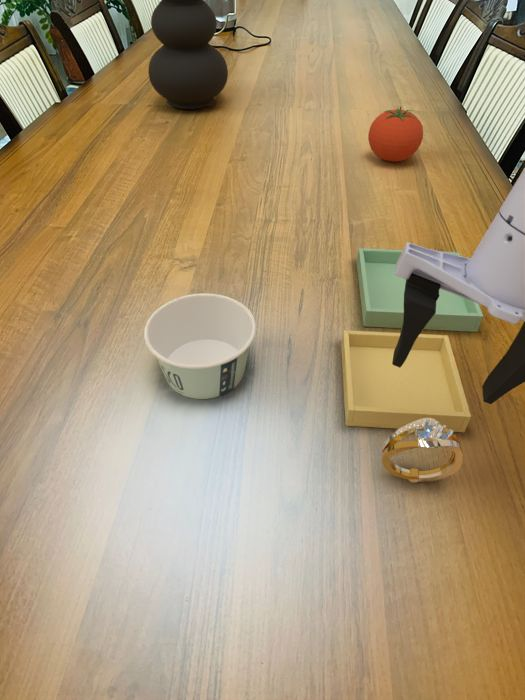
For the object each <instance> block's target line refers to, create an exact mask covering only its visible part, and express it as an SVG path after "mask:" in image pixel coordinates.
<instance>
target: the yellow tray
mask: <svg viewBox="0 0 525 700" xmlns="http://www.w3.org/2000/svg"><path fill="white" fill-rule="evenodd" d="M400 334H401V332H388V331H368V330H367V331H366V330H347V329H346V330H345V329H344V330H343V331H342V338H341V343H340V351H341V369H342V387H343V402H344V418H345V419H344V420H345V421H344V422H345V426H346V427H349V426H350V427H364V428H380V429H397V430H398V429H399V428H401V427H403V426H405V425H407V424H409V423H411V422H413V421H416V420H418V419H422V418H433V419H435V420H437V421H439V424H440V425H441V426H443V425H446V428H447V429H449V430H450V429H451V430H453V433H465V432H466V429H467V427H468V426H469V423H470V420H471V418H472V414H471V411H470V408H469V403H468V399H467V397H466V394H465V391H464V387H463V384H462V380H461V376H460V372H459V369H458V366H457V365H458V364H457V362H456V358H455V355H454V352H453V348H452V344H451V341H450V337H449V335H448V334H428V333H420V334H419V336H418V337H417V339H416V341H415V342H414V344H413V346H412V348H411V350H410V352H409V354H408V356H407V358H406V360H405V362H404V363H403V365H402V366H401V367H400V368H399V367H397V366H395V365H393V364H392V362H393V355H394V350H395V348H396V346H397V343H398V340H399V337H400ZM431 427H432V426H431ZM419 430H422V431H424V428H421V429H419Z"/></svg>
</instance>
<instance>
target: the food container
mask: <svg viewBox="0 0 525 700" xmlns="http://www.w3.org/2000/svg"><path fill="white" fill-rule="evenodd" d="M256 334H257V321H256V318H255V317H254V315H253V313H252V311H251V310H250V309H249V308H248V307H247V306H246V305H244V304H243V303H242V302H240V301H239V300H237V299H235V298H233V297H229V296H227V295H223V294H218V293H208V292H207V293H206V292H204V293H203V292H202V293H191V294H187V295H182V296H179V297H176V298H174V299H172V300H169V301H167V302H165V303H163V304H162V305H161V306H159V307H158V308H157V309H155V310H154V311H153V313H151V315H150V316H149V317H148V319H147V321H146V323H145V326H144V330H143V337H144V342H145V345H146V347H147V349H148V350H149V352H150V353H151V354H152V355H153V356H154V357H155V358H156V361H157V363H158V366H159V367H160V369H161V372H162V374H163V376H164V378H165V380H166V382H167V384H168V385H169V387H170V388H171V389H172V390H173V391H174V392H176V393H177V394H179V395H180V396H183V397H186V398H189V399H195V400H209V399H215V398H218V397H221V396H223V395H225V394H227V393H230V392H231V391H233V390H234V389H235V388H236V387H237V386H238V385H239V384H240V383H241V381H242V380H243V377H244V374H245V370H246V366H247V361H248V356H249V352H250V346H251V345H252V344H253V342H254V340H255V338H256Z"/></svg>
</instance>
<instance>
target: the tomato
mask: <svg viewBox="0 0 525 700" xmlns="http://www.w3.org/2000/svg"><path fill="white" fill-rule="evenodd" d="M412 112H413V110H412V109H406V110H403V109H402V106H399V108H396V109H388V110H384V111H383V112H382V113H380V114H379V115H378V116H376V117H375V119H374V120H373V121H372V123H371V125H370V126H369V130H368V137H367V138H368V144H369V147H370V149H371V151H372V152H373V153H374V154H375V156H377V157H378V158H380V159H381V160H383V161H387V162H392V163H393V162H394V163H395V162H402V161H404V160H407V159H408V158H410V157H412V156H413V155H414V154H415V153H416V152H417V151H418V150H419V148H420V146H421V144H422V142H423V139H424V128H423V125H422V122H421V120H420V119H419V118H418V117H417V116H416V114H414V113H412Z"/></svg>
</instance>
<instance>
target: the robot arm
mask: <svg viewBox="0 0 525 700" xmlns="http://www.w3.org/2000/svg"><path fill="white" fill-rule="evenodd" d="M402 250H403V251H402V253H401V255H400V257H399V259H398V261H397V263H396V268H395V273H394V274H395V275H396V276H398V277H401V278H403V279H406V284H405V291H404V318H403V326H402V328H401V330H400V333H401V334H400V337H399V340H398V343H397V346H396V348H395V350H394V355H393V362H392V364H393V365H395V366H397V367H399V368H400V367H401V366H402V365H403V363H404V362H405V360H406V358H407V356H408V354H409V352H410V350H411V348H412V346H413V344H414V342H415V341H416V339H417V337H418V336H419V334H422V331H423V330H425V329H424V327H425V326H426V325H427V323H428V322H429V321H430V319H431V318H432V317H433V316H434V314H435V313H436V301H437V299H438V298H439V296H440V295H439V289H443V290H445V291H448V292H450V293H453V294H455V295H458V296H460V297H463V298H466V299H468V300H471V301H473V302H476V303H478V304H479V305H480V306H483V307H485V308H486V309H487V312H488V313H489V315H491V316H492V317H494V318H496V319H498V320H501V321H504V322H506V323H510V324H512V325H518V324H520V322H521V321H522V322H523V323H522V325H521V327H520V328H519V331H518V333H517V334H516V336H515V338H514V339H513V341H512V343H511V345H510V346H509V347H508V349H507V351H506V352H505V354H504V355H503V356H502V357H501V359H500V360H499V361H498V363H497V364H496V365H495V367H494V368H493V369H492V370H491V372H490V373H489V374H488V375H487V377H486V379H485V381H484V382H483V384H482V385H481V388H482V401H483V403H484V402H485V403H486V404H489V405H492V404H494V403H495V402H497V400H499V399H501V398H502V397H503V396H504V395H506V394H507V393H509V392H510V391H512V390H514V389H515V388H517V387H519V386H521V385H522V384H524V383H525V167H524V168H523V170H522V171H521V172H520V175H519V176H518V178H517V179H516V181H515V182H514V184H513V186H512V188H511V189H510V191H509V193H508V194H507V196H506V198H505V200H504V202H503V203H502V204H501V206H500V207H499V210H498V212H497V213H496V214H495V216H494V218H493V220H492V222H491V223H490V225H489V226H488V228H487V230H486V231H485V233H484V235H483V237H482V238H481V239H480V242H479V243H478V245H477V246H476V249H475V250H474V252H473V253H472V255H471V256H470V257H466V256H462V255H461V256H458V255H454V254H450V253H445V252H446V251H441V250H436V249H431V248H429V247H428V248H427V247H424V246H422V245H417V244H415V243H413V242H409V241H407V242H406V243H405V245H404V247H403V249H402Z"/></svg>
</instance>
